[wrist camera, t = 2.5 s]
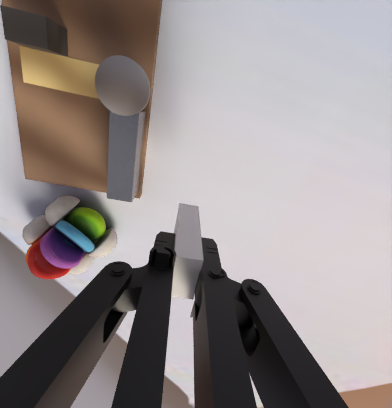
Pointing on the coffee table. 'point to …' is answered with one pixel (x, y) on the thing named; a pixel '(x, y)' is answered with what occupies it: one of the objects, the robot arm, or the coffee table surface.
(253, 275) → the coffee table surface
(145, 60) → the board
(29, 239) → the multicolored petal toy
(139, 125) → the bar
